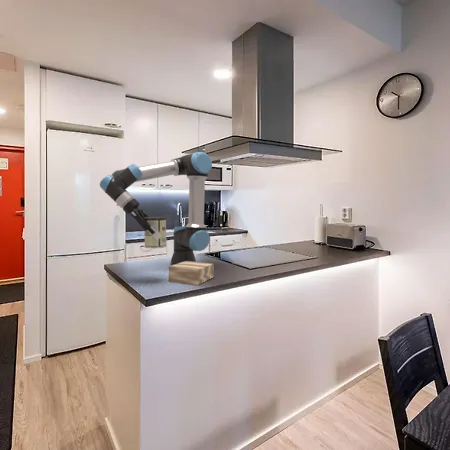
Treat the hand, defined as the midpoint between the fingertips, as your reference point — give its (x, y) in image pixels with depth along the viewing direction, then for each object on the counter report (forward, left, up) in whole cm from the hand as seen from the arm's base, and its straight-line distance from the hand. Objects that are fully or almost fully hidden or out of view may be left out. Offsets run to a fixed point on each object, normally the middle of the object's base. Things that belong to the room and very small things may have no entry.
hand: (161, 237), depth 146 cm
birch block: (-8, +12, -21) cm, 25 cm away
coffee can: (+1, -3, -5) cm, 6 cm away
